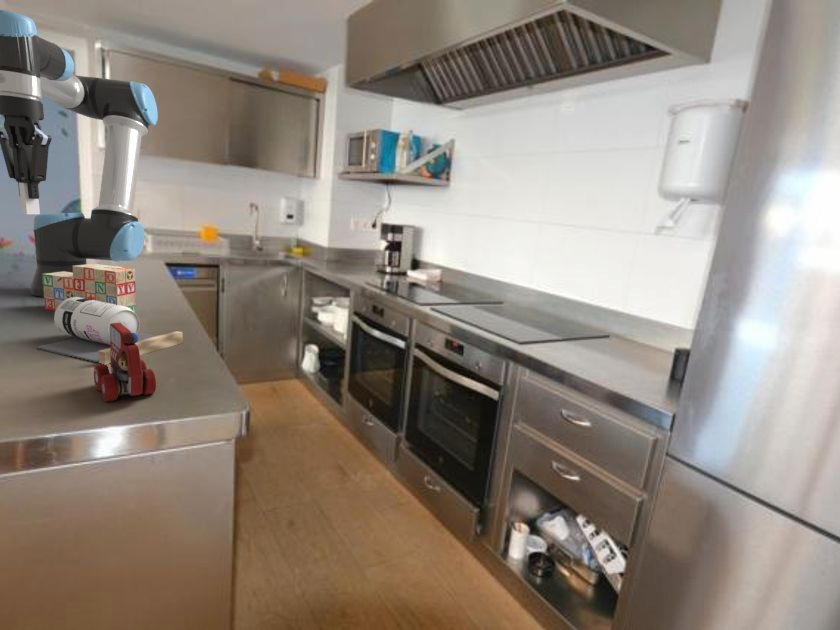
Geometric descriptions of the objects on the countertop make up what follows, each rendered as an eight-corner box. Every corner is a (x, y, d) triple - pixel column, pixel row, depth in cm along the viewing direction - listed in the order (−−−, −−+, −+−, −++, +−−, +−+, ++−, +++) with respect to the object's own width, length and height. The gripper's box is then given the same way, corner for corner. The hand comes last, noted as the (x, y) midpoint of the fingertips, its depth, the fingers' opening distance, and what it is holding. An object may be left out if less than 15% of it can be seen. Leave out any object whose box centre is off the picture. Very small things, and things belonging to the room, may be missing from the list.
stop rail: (177, 341, 105) (176, 331, 105) (182, 343, 105) (182, 332, 104) (99, 363, 89) (98, 350, 88) (105, 364, 88) (104, 352, 88)
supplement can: (97, 304, 107) (148, 314, 102) (80, 339, 105) (131, 352, 100) (63, 290, 100) (116, 300, 95) (44, 327, 97) (98, 340, 92)
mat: (121, 330, 110) (121, 328, 110) (176, 341, 105) (176, 339, 105) (37, 348, 94) (37, 346, 94) (98, 363, 89) (98, 361, 89)
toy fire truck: (109, 410, 71) (106, 341, 69) (91, 384, 80) (88, 322, 77) (161, 400, 76) (159, 336, 74) (139, 376, 84) (137, 318, 82)
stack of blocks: (43, 310, 122) (40, 261, 120) (66, 306, 128) (63, 259, 126) (117, 320, 118) (115, 270, 116) (137, 315, 124) (135, 268, 122)
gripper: (-24, 92, 98) (-10, 211, 104) (23, 94, 94) (35, 217, 100) (16, 100, 105) (27, 211, 111) (61, 102, 101) (70, 216, 107)
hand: (31, 213), depth 105 cm, fingers closed
